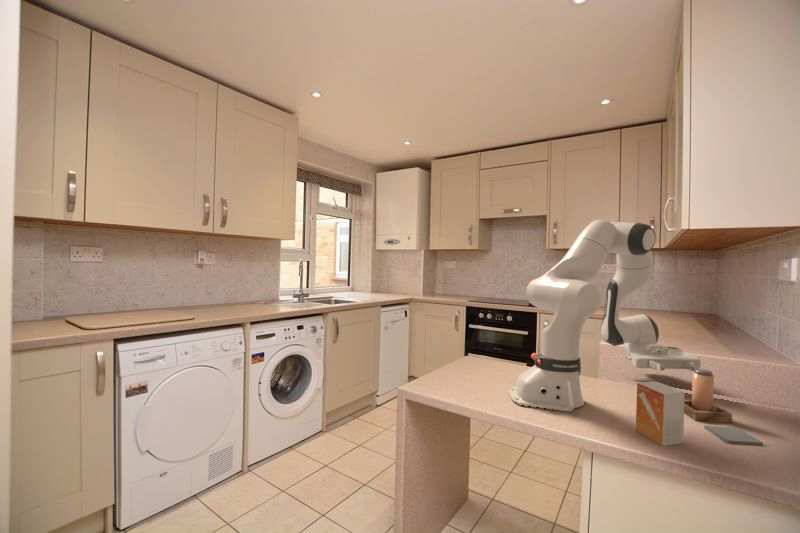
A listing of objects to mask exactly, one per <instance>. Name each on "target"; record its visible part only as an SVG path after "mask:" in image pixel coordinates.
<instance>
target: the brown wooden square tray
mask: <svg viewBox="0 0 800 533" xmlns="http://www.w3.org/2000/svg"><path fill="white" fill-rule="evenodd" d="M684 415H686V416H688V417H690V419H692V420H694V421H695V422H713V423H715V422H717V423H732V417H733V414H732V413H731V412H729V411H728V410H726V409H724V408H722V407H720V406H718V405H717V404H714V403H713V412H710V411H696V410H695V409H693V408H692V399H684Z"/></svg>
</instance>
